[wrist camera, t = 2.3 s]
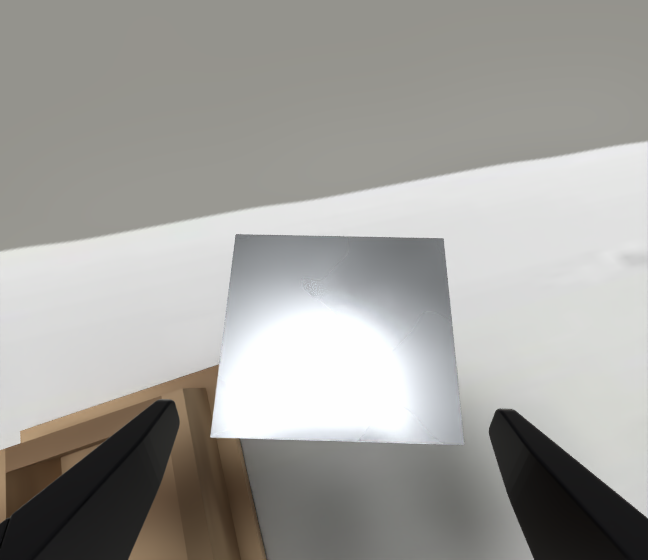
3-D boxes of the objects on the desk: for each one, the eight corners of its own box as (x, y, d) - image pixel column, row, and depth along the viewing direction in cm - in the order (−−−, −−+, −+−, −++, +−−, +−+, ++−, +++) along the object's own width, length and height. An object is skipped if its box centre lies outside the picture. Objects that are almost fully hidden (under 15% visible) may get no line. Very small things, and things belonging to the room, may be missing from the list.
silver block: (369, 402, 18) (464, 445, 6) (290, 400, 18) (210, 437, 6) (368, 331, 19) (443, 238, 7) (294, 330, 19) (235, 234, 7)
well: (272, 586, 15) (257, 645, 12) (39, 682, 14) (-52, 776, 11) (222, 365, 19) (199, 360, 15) (30, 429, 18) (-42, 440, 14)
